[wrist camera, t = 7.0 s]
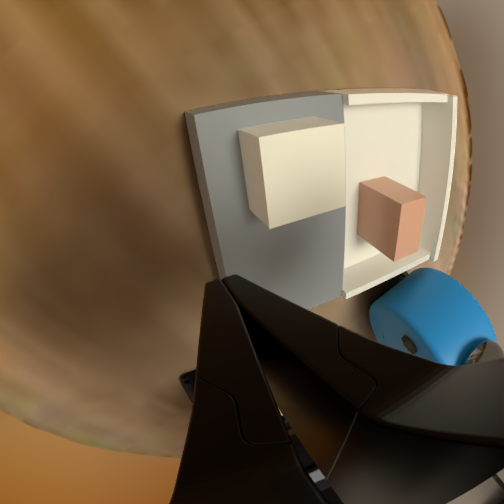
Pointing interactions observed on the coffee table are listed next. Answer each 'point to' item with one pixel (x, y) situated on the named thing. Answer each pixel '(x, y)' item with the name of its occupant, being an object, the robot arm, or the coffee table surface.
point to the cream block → (294, 169)
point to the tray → (396, 170)
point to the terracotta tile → (390, 217)
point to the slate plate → (246, 222)
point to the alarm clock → (434, 320)
